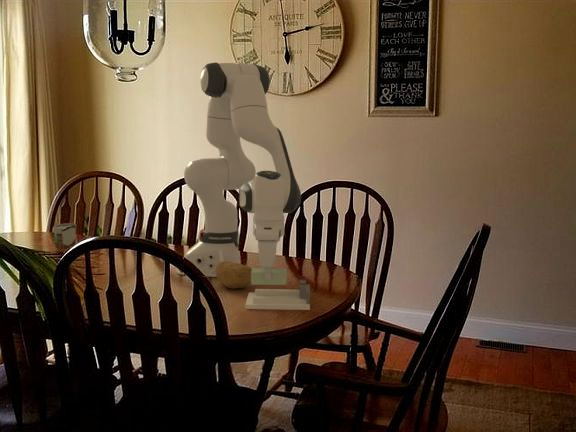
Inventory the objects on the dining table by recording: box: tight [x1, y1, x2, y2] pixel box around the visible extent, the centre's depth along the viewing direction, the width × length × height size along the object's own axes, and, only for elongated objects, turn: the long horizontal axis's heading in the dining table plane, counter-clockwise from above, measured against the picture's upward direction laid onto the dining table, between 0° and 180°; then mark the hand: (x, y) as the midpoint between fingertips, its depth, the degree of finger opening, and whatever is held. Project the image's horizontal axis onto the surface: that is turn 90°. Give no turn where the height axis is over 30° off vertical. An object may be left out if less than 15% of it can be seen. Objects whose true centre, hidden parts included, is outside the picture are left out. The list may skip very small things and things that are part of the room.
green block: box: [250, 267, 288, 286], centre depth 174 cm, size 10×5×4 cm, turn 89°
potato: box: [215, 261, 253, 289], centre depth 190 cm, size 10×14×8 cm
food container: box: [52, 222, 77, 249], centre depth 239 cm, size 12×6×10 cm, turn 172°
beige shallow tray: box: [245, 279, 311, 311], centre depth 175 cm, size 18×12×6 cm, turn 89°
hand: (268, 276), depth 174 cm, fingers closed on green block, 5 cm apart
